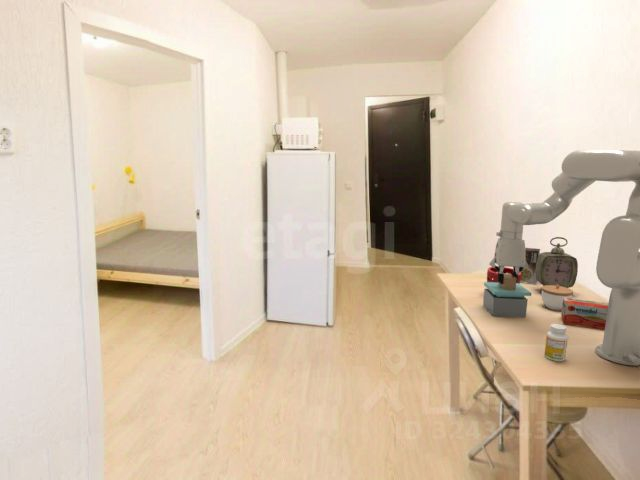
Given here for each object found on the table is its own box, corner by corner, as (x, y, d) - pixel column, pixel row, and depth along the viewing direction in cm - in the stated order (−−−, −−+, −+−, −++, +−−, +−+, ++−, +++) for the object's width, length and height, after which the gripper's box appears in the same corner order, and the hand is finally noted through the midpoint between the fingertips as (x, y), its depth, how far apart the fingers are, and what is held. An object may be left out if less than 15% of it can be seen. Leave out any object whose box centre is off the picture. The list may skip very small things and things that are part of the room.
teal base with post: (530, 299, 154) (532, 280, 153) (493, 297, 156) (495, 279, 154) (517, 289, 167) (519, 272, 166) (483, 288, 168) (485, 271, 167)
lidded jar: (575, 313, 162) (578, 289, 160) (544, 311, 164) (547, 287, 162) (564, 304, 172) (567, 282, 171) (536, 302, 174) (538, 280, 173)
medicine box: (608, 323, 152) (611, 302, 151) (613, 332, 145) (616, 309, 143) (560, 317, 158) (562, 296, 157) (563, 324, 151) (565, 303, 149)
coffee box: (537, 281, 205) (540, 248, 202) (535, 284, 200) (539, 251, 197) (516, 278, 210) (520, 246, 207) (514, 281, 205) (518, 248, 202)
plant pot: (486, 300, 176) (488, 272, 174) (484, 291, 188) (486, 265, 186) (520, 303, 172) (523, 275, 170) (516, 294, 185) (518, 267, 182)
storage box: (525, 317, 157) (527, 299, 155) (492, 316, 158) (493, 298, 157) (514, 306, 168) (515, 289, 167) (483, 305, 170) (484, 288, 168)
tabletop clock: (538, 294, 185) (544, 238, 180) (531, 288, 194) (537, 234, 189) (574, 296, 182) (581, 239, 178) (566, 290, 191) (573, 235, 186)
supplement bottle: (551, 352, 128) (555, 321, 127) (569, 359, 124) (573, 327, 122) (540, 355, 126) (543, 324, 124) (557, 363, 121) (561, 331, 119)
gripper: (491, 236, 155) (487, 285, 158) (538, 237, 153) (534, 286, 156) (485, 233, 162) (481, 280, 165) (530, 234, 161) (526, 281, 164)
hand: (507, 282), depth 161 cm, fingers closed on teal base with post, 4 cm apart
